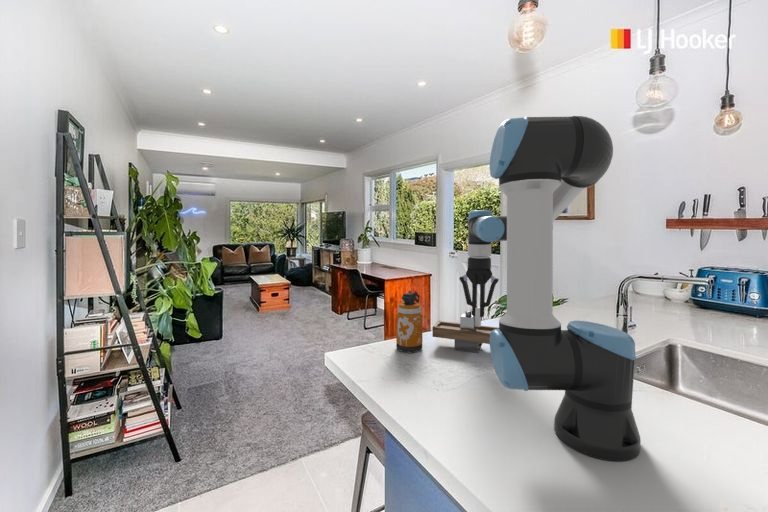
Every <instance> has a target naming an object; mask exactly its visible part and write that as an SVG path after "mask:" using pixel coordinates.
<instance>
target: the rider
mask: <svg viewBox="0 0 768 512" xmlns="http://www.w3.org/2000/svg"><path fill="white" fill-rule="evenodd" d="M459 323H460V329H468V330H471V331H475V330H476V327H475V316H473V315H472V310H465V313H462V314H461V316H460V322H459Z"/></svg>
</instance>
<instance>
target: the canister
mask: <svg viewBox="0 0 768 512" xmlns="http://www.w3.org/2000/svg"><path fill="white" fill-rule="evenodd" d="M420 297H421V296H420V294H419V293H418V292H417V291H416V290H415V291H414V292H412V291H411V290H409V291H408V292H406V293H403V294H402V296H401V300H400V303H399V304H398V305H397V311H396V313H395V314H396V315H395V318H396V319H395V320H396V324H395V326H396V327H395V328H396V333H395V334H396V335H395V336H396V337H395V338H396V339H395V340H396V345H395V346H396V349H397V350H399V351H401V352H404V353H415V352H418V351H421V350H422V349H423V312H422V306H421V304H420Z"/></svg>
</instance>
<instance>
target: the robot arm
mask: <svg viewBox="0 0 768 512" xmlns="http://www.w3.org/2000/svg"><path fill="white" fill-rule="evenodd" d="M613 155H614V146H613V139H612V137H611V135H610V133H609V132H608V130H607V129H606V127H605V126H604V125H603V124H601V123H600V122H599V121H597V120H595V119H593V118H592V117H587V116H584V115H583V116H582V115H572V116H523V117H513V118H512V117H510V118H508V119H505V120H504V121H503V122H501V124H500V125H499V127H498V129H497V131H496V133H495V136H494V138H493V142H492V147H491V151H490V157H489V174H490V177H491V178H493V179H494V180H498V189H499V190H500V191H501V192H502V193H503V194H504V195H505V196H506V215H493V213H492V211H491V210H490V209H486V210H485V209H479V210H474V209H473V210H470V211H469V212H468V219H467V224H468V229H467V230H468V231H467V232H468V234H467V235H468V236H467V237H468V238H467V255H468V256H469V257H468V258H467V270H466V272H465V274H464V275H461V276H460V277H459V278H458V279H459V281H460V282H461V284H462V288H463V292H464V297H465V301H466V304H467V305H468V306H471V308H472V309H471V314H472V315H473V316H475V327H480V326H482V318H484V316H485V308H487V307H489V306H490V305H491V302H492V299H493V295H494V292H495V288H496V285H497V283H498V282H499V280H500V279H499V277H495V275H493V271H492V258H491V257H490V256H492V243H493V242H506V312H505V313H504V314H503V315H502V316H501V317H500V318H499V319H498V327H499V329H495V330H492V331H491V333H490V344H489V349H490V356H491V360H492V365H493V369H494V370H495V371H494V372H495V375H496V376H497V379H498V381H499V382H500V384H501V385H502V386H503V387H504V388H507V389H509V390H518V391H519V390H521V391H525V392H528V391H564V395H563V397H562V400H561V402H560V404H559V406H558V408H557V411H556V413H555V415H554V421H553V423H554V425H553V430H554V433H555V434H556V436H557V437H558V438H559V439H560V440H561V441H562V442H563V443H564V444H566V445H567V446H568V447H570V448H571V449H573V450H575V451H577V452H579V453H581V454H584V455H587V456H589V457H593V458H595V459H601V460H604V461H605V460H606V461H614V462H615V461H616V462H624V461H629V460H632V459H635V458H637V456H638V455H640V452H641V441H642V440H641V435H640V433H639V429H638V425H637V423H636V420H635V415H634V413H633V409H632V408H633V406H632V405H633V394H634V393H633V392H634V378H635V377H634V375H635V365H636V363H635V361H636V360H637V357H636V342H635V339H634V338H633V336H631V335H630V334H628V333H627V332H625V331H624V330H621V329H619V328H615V327H614V326H609V325H606V324H603V323H598V322H592V321H586V320H573V321H569V322H568V324H567V325H566V329H562V323H561V322H560V321H559V319H558V318H557V317H555V315H554V314H553V313H554V312H553V308H554V307H553V303H554V300H553V298H554V297H553V295H554V293H553V291H554V289H553V287H554V286H553V283H554V282H553V280H554V279H553V278H554V277H553V276H554V275H553V273H554V271H553V269H554V267H553V265H554V264H553V263H554V262H553V260H554V259H553V258H554V257H553V254H554V253H553V251H554V250H553V246H554V245H553V244H554V241H553V239H554V238H553V237H554V235H553V234H554V233H553V232H554V231H553V230H554V222H555V220H557V218H558V217H559V216H560V215H561V214H562V213H563V212H564V211H565V210H566V209H567V207H569V205H570V204H572V203H573V201H574V200H575V199H576V198H577V197H578V196H579V195H580V194H581V193H582V191H583V190H585V189H587V188H590V187H593V186H594V185H595V184H597V183H598V182H599V181H600V180H601V178H603V177H604V175H605V173H607V171H608V169H609V168H610V165H611V163H612V160H613ZM468 280H469V281H470V282H471V287H472V291H471V292H472V293H471V292H470V290H469V285H468ZM489 280H490V283H491V284H490V287H489V291H488V294H487V298H486V284H487V283H488V281H489ZM478 285H479V289H480V290H479V305H478ZM471 294H472V295H471ZM471 296H472V297H471ZM485 300H486V301H485Z"/></svg>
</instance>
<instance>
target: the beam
mask: <svg viewBox="0 0 768 512" xmlns="http://www.w3.org/2000/svg"><path fill="white" fill-rule="evenodd" d="M495 329H499V326H489V325H488V326H487V325H481V326H480V327H476V330H475V331H471V330H468V329H460V322H452V321H445V320H438V321H437V322H436V323H435V324H434V325H433V326H432V336H431V337H432V338H439V339H447V340H454V345H453V346H454V349H455V350H454V351H459V350H460V352H467V353H475V354H479V352H480V351H481V348H482V345H483V344H488V345H490V333H491V331H492V330H495Z"/></svg>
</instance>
